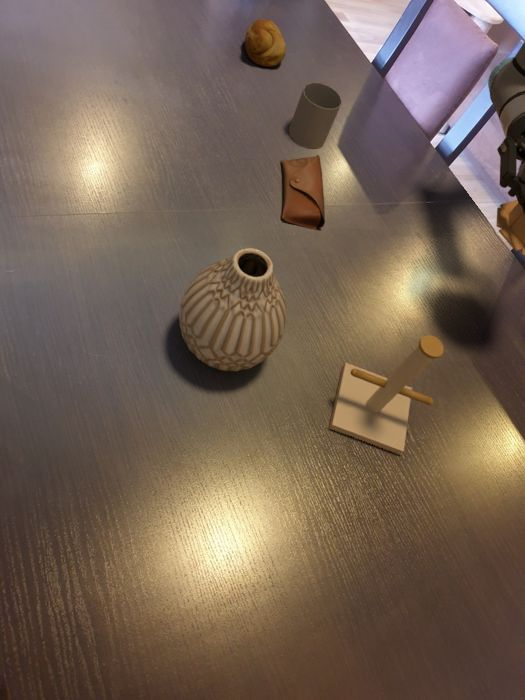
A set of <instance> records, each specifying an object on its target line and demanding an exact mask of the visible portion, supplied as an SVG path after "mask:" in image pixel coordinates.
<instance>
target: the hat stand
mask: <svg viewBox="0 0 525 700" xmlns="http://www.w3.org/2000/svg"><path fill="white" fill-rule="evenodd" d="M444 350H445V347H444V345H443V342H442V341H441V340H440V339H439V338H438V337H436V336H434V335H431V334H426V335H423V336H422V337H421V338H420V339H419V341H418V346H417V347H416V348H415V349H414V350H413V351H412V352H411V353H410V354H409V355H408V356H407V358H405V359H404V360H403V362H402V363H401V364H400V365H399V366H398V367H396V369H395V370H394V371H393V372H392V373H391V374H390V375H389V377H384V376H382V375H380V374H377V373H375V372H372V371H369V370H367V369H364V368H362V367H359V366H356V365H353V364H351V363H348V362H345V363H344V364H343V365H342V367H341V371H340V376H339V381H338V385H337V390H336V394H335V398H334V403H333V408H332V411H331V412H332V413H331V416H330V421H329V426H328V429H329V430H333V431H334V430H335V432H336V433H337V432H338V433H340V434H342V433H343V435H345V434H346V435H345V436H348V435H349V436H348V437H350V436H352V437H351V438H353V437H354V438H353V439H356V440H358V439H359V441H361V440H362V442H364V441H365V442H364V443H366V442H367V443H366V444H369V443H370V444H369V445H372V444H373V445H372V446H374V445H375V447H377V446H378V448H380V449H382V448H383V449H382V450H385V451H388V452H390V451H391V452H390V453H393V454H396V455H399V456H400V455H401V454H403V453H404V452H405V444H406V438H407V437H406V436H407V430H408V422H409V414H410V406H411V399H412V400H414V401H416V402H419V403H421V404H424V405H427V406H431V405H433V403H434V399H433V398H432V397H431V396H428V395H426V394H423V393H421V392H417V391H415V390H413V387H411V386H408V384H409V383H411V381H412V380H413V379H415V378H416V377H417V376H418V375H419V374H420V373H421V371H423V370H424V369H425V368H426V366H428V364H430V363H431V362H432V361H433V360H436V359H439V358H441V356H442V355H443V354H444Z"/></svg>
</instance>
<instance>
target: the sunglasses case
mask: <svg viewBox="0 0 525 700" xmlns="http://www.w3.org/2000/svg"><path fill="white" fill-rule="evenodd" d="M280 165H281V169H282V176H283V177H282V178H283V179H282V180H283V199H282V200H283V204H282V205H283V206H282V213H281V219H282V220H283V221H284V222H286V223H289V224H292V225H295V226H298V227H302V228H306V229H311V230H320V229H321V228H323V227H324V226H325V223H326V218H325V215H326V214H325V194H324V183H323V179H324V178H323V170H322V164H321V157H320V155H319V154H316V155H315V156H308V157H301V158H295V159H288V160H284V159H281V160H280Z"/></svg>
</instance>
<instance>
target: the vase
mask: <svg viewBox="0 0 525 700" xmlns="http://www.w3.org/2000/svg"><path fill="white" fill-rule="evenodd" d="M178 313H179V316H178V318H179V320H178V321H179V322H178V323H179V329H180V334H181V336H182V338H183V340H184V343H185V345H186V346H187V348H188V349H189V351H190V352H191V353H192V354H193V356H195V357H196V358H197V359H198V361H200V362H201V363H203V364H204V365H206V366H208V367H210V368H213V369H216V370H219V371H224V372H239V371H244V370H248V369H251V368H253V367H255V366H257V365H259V364H261V363H263V362H264V361H265V360H266V359H268V358H269V357H270V356H271V355H272V354H273V352H274V351H275V350H276V349H277V348H278V346H279V344H280V342H281V341H282V338H283V336H284V333H285V330H286V325H287V303H286V297H285V294H284V291H283V289H282V286H281V284H280V282H279V280H278V279H277V277H276V276H275V274H274V264H273V261H272V260H271V258H270V257H269V256H268V255H267V254H266V253H265V252H263V251H262V250H260V249H257V248H253V247H245V248H242V249H240V250H238V251H237V252H236V253H235V254H233V256H232V257H227V258H224V259H221V260H218V261H216V262H214V263H212V264H210V265H208V266H207V267H205V268H204V269H203V270H202V271H200V272H199V274H197V275H196V276H195V278H194V279H193V280H191V282H190V283H189V285H188V287H187V288H186V289H185V291H184V293H183V296H182V298H181V301H180V306H179V312H178Z"/></svg>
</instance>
